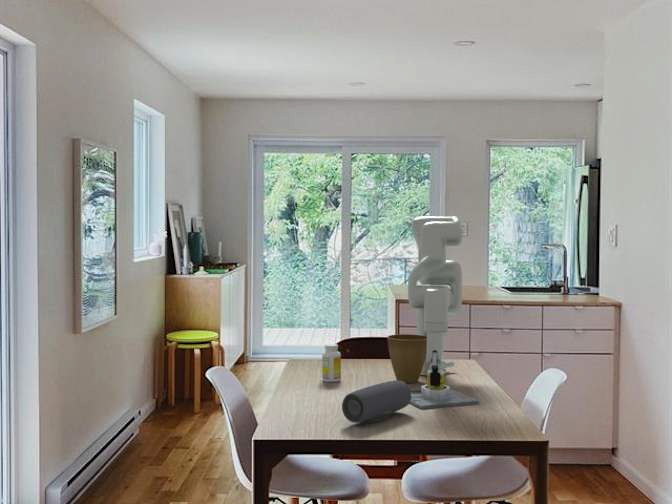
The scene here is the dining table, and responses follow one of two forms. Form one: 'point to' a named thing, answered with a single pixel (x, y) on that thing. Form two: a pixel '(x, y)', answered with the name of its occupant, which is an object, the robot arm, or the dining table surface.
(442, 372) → the supplement bottle
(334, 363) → the supplement bottle
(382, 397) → the bluetooth speaker
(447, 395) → the duct collar
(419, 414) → the dining table surface
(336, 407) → the dining table surface
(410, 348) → the plant pot
